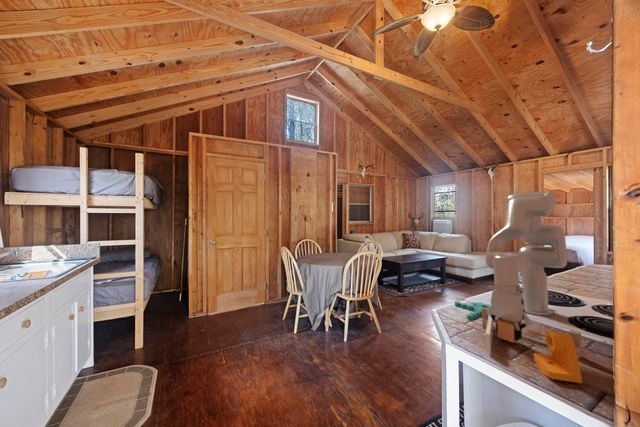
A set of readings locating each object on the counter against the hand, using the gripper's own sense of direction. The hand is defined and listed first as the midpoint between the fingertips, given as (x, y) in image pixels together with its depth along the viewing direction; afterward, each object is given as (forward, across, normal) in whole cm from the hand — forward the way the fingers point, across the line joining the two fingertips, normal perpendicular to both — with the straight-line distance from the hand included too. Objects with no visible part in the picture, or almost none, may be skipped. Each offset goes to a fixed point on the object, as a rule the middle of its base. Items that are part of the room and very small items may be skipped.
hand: (508, 336), depth 96 cm
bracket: (+2, -16, +10) cm, 19 cm away
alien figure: (+4, +20, -23) cm, 30 cm away
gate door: (+1, +5, +5) cm, 7 cm away
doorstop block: (+1, 0, 0) cm, 1 cm away
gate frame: (+2, -3, -7) cm, 8 cm away
